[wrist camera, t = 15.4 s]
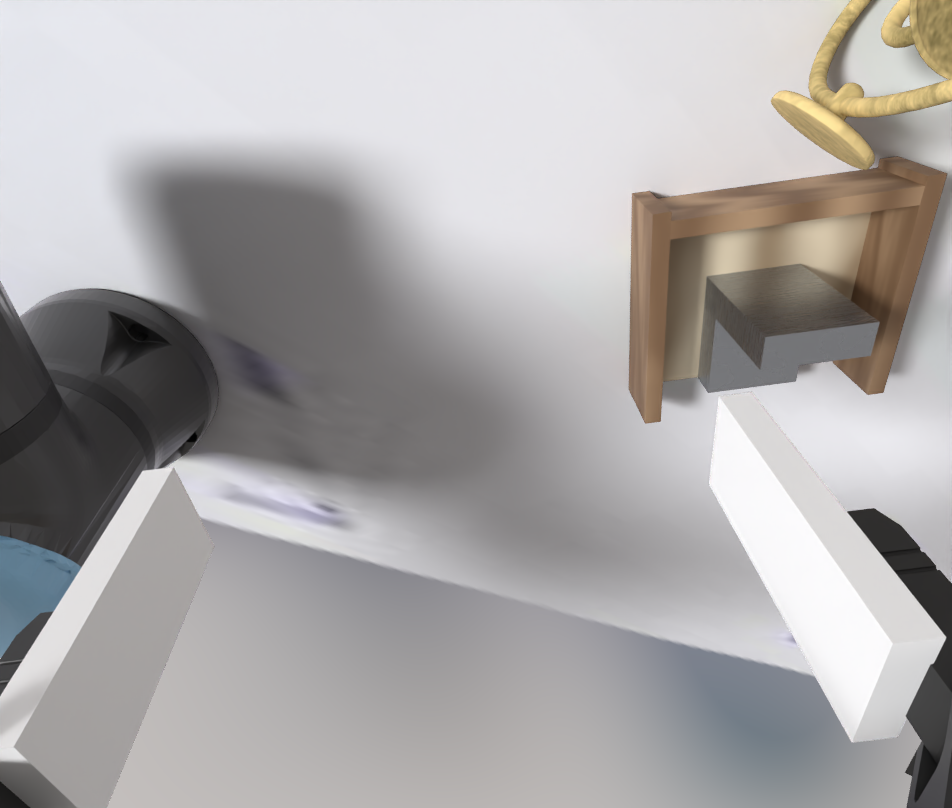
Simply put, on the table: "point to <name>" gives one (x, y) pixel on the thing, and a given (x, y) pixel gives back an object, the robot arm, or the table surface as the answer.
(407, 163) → the table surface
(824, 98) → the wall sconce
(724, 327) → the angle bracket
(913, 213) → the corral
